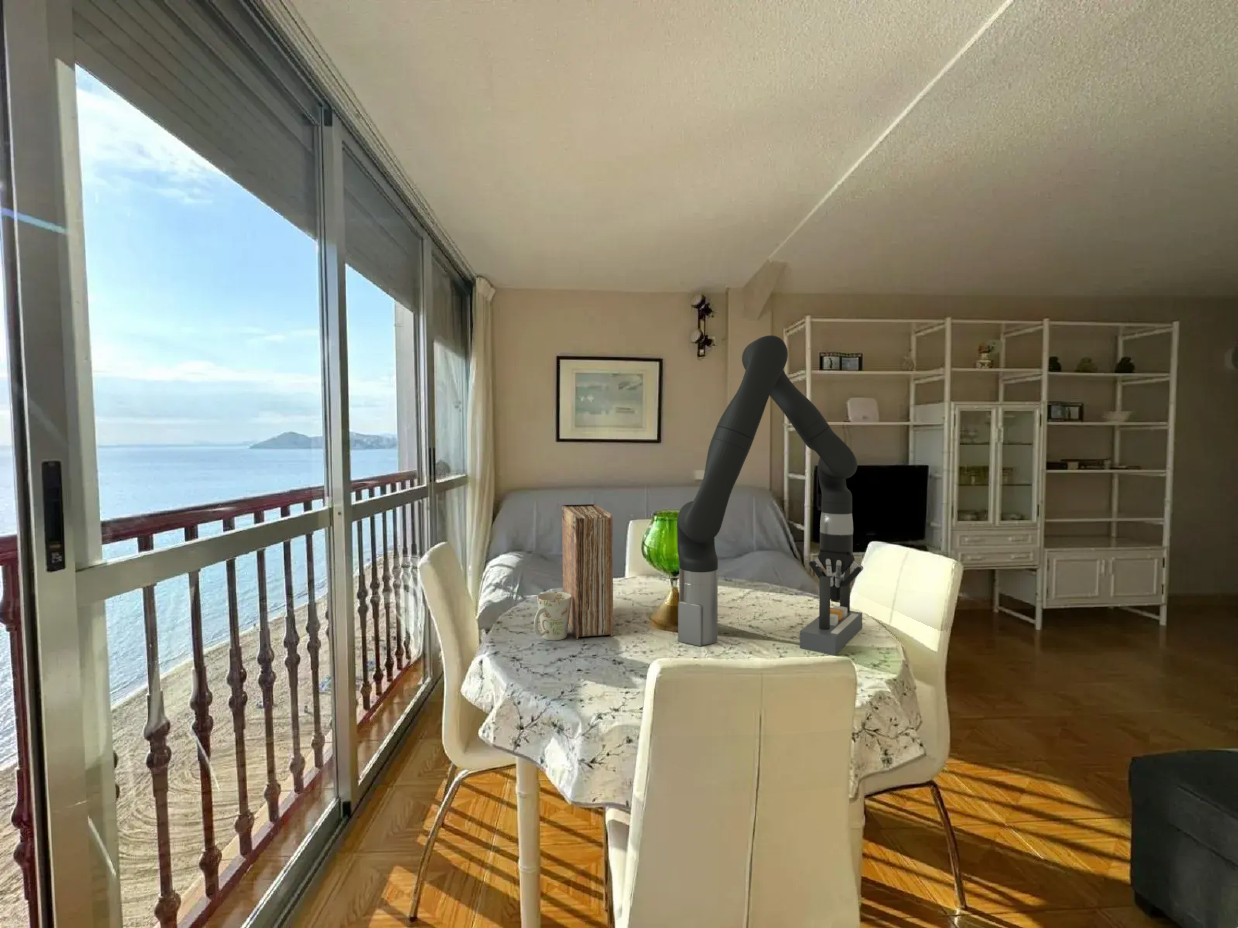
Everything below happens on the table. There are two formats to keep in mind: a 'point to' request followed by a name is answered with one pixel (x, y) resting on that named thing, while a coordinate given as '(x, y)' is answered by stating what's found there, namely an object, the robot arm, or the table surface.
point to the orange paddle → (837, 613)
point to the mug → (553, 615)
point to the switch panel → (831, 632)
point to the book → (588, 568)
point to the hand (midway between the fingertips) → (835, 601)
